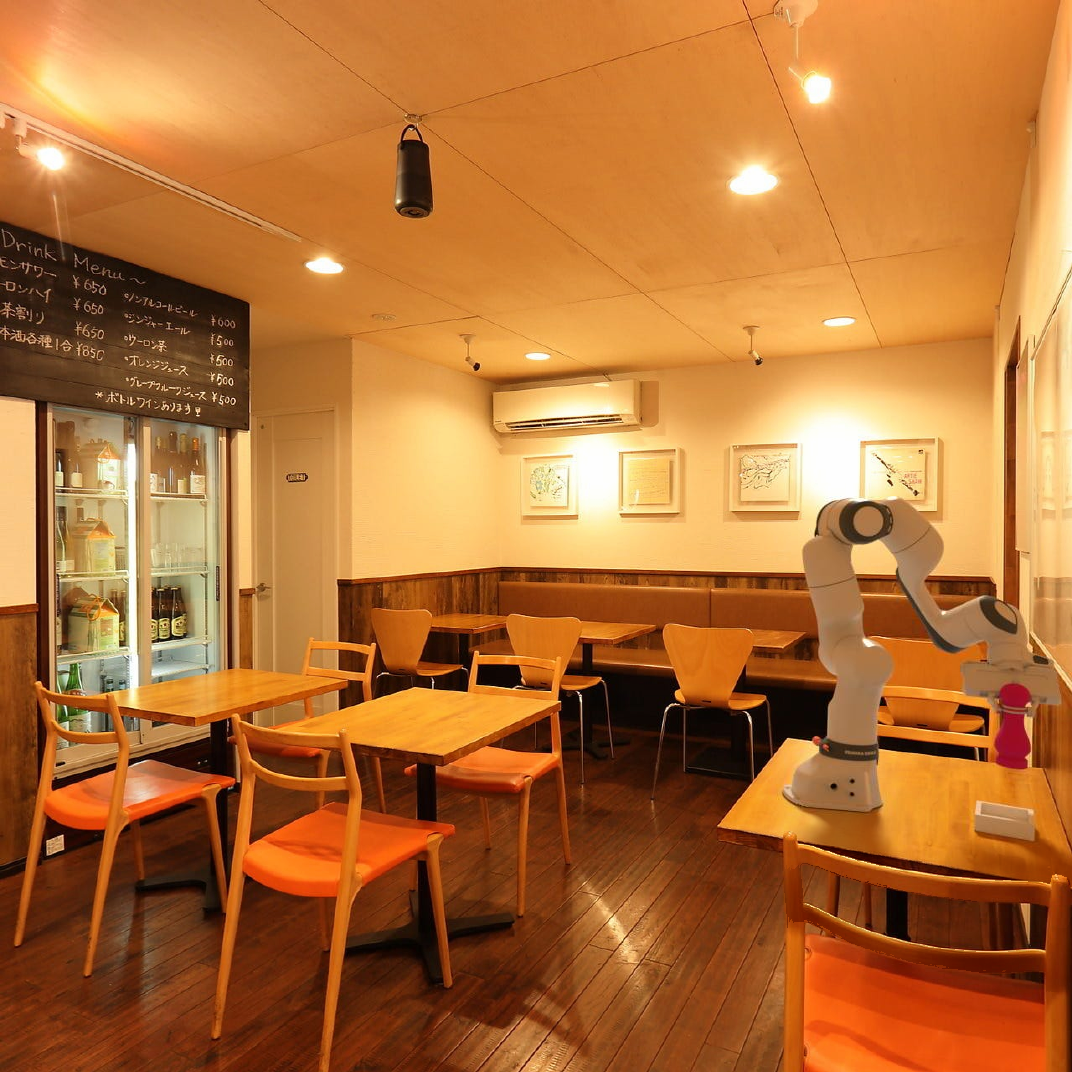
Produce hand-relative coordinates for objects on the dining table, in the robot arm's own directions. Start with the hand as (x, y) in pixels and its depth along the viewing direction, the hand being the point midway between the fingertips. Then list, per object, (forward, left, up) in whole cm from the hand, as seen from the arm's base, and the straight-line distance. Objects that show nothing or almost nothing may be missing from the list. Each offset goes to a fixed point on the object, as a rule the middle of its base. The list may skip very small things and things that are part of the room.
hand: (1014, 714), depth 183 cm
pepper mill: (0, +1, -12) cm, 12 cm away
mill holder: (-5, -5, -24) cm, 25 cm away
